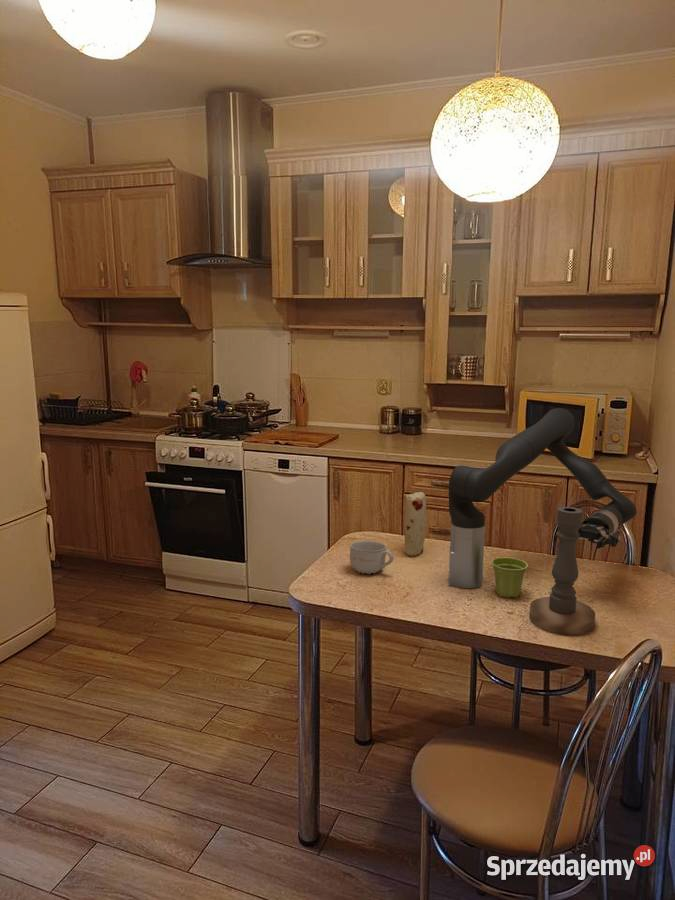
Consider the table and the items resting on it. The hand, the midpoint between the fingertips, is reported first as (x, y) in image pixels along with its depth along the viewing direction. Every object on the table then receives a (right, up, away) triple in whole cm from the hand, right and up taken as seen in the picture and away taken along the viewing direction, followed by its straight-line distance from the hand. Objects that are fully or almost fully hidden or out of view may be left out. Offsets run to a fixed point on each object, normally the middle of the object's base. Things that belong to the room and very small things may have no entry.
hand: (580, 541), depth 158 cm
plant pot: (-16, -16, +11) cm, 25 cm away
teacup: (-52, -13, +26) cm, 59 cm away
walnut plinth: (-7, -19, -5) cm, 21 cm away
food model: (-37, -10, +42) cm, 57 cm away
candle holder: (-7, -16, -6) cm, 18 cm away
